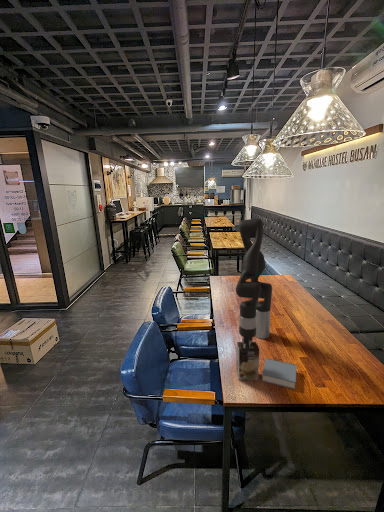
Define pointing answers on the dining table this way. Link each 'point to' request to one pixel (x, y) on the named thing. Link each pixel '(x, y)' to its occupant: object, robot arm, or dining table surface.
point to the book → (279, 373)
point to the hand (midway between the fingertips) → (247, 356)
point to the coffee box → (248, 363)
